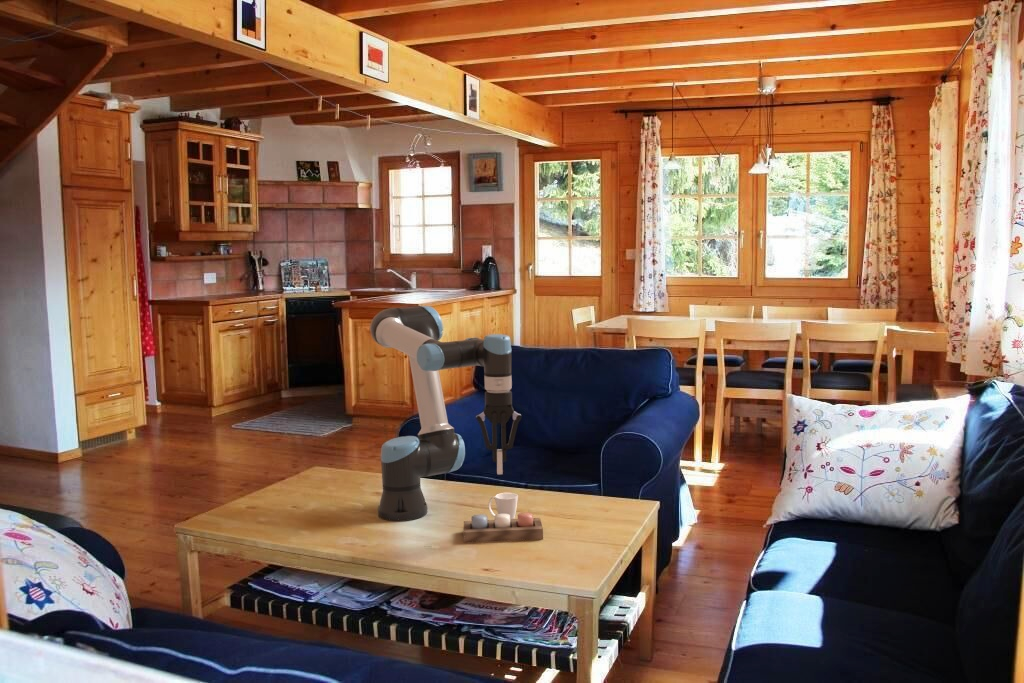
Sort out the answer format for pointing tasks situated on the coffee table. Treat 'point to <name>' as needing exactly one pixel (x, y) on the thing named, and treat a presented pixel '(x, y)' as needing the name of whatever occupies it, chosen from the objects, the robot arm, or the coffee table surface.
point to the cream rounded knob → (502, 521)
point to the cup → (505, 504)
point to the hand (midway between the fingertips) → (499, 472)
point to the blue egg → (479, 522)
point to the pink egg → (525, 520)
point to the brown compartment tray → (503, 532)
